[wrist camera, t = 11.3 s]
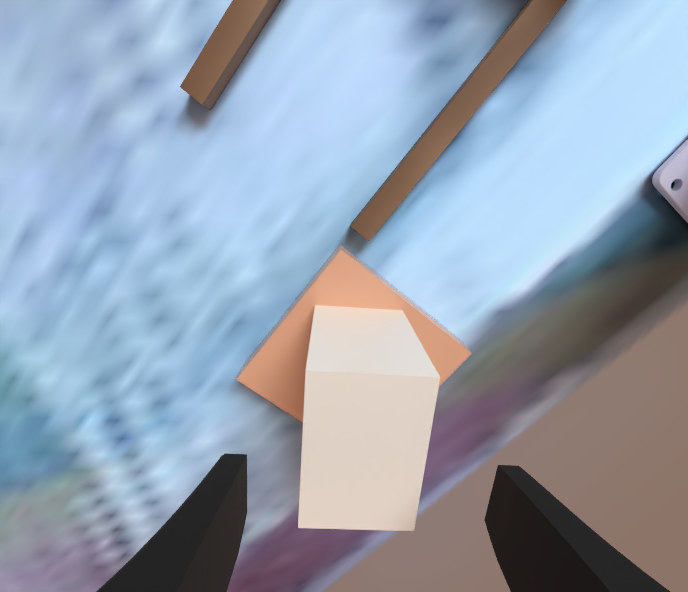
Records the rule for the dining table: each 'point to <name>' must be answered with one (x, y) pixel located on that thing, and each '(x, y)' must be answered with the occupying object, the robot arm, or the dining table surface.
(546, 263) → the dining table surface
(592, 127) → the dining table surface
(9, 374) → the dining table surface
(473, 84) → the frame
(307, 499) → the block
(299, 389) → the tile
